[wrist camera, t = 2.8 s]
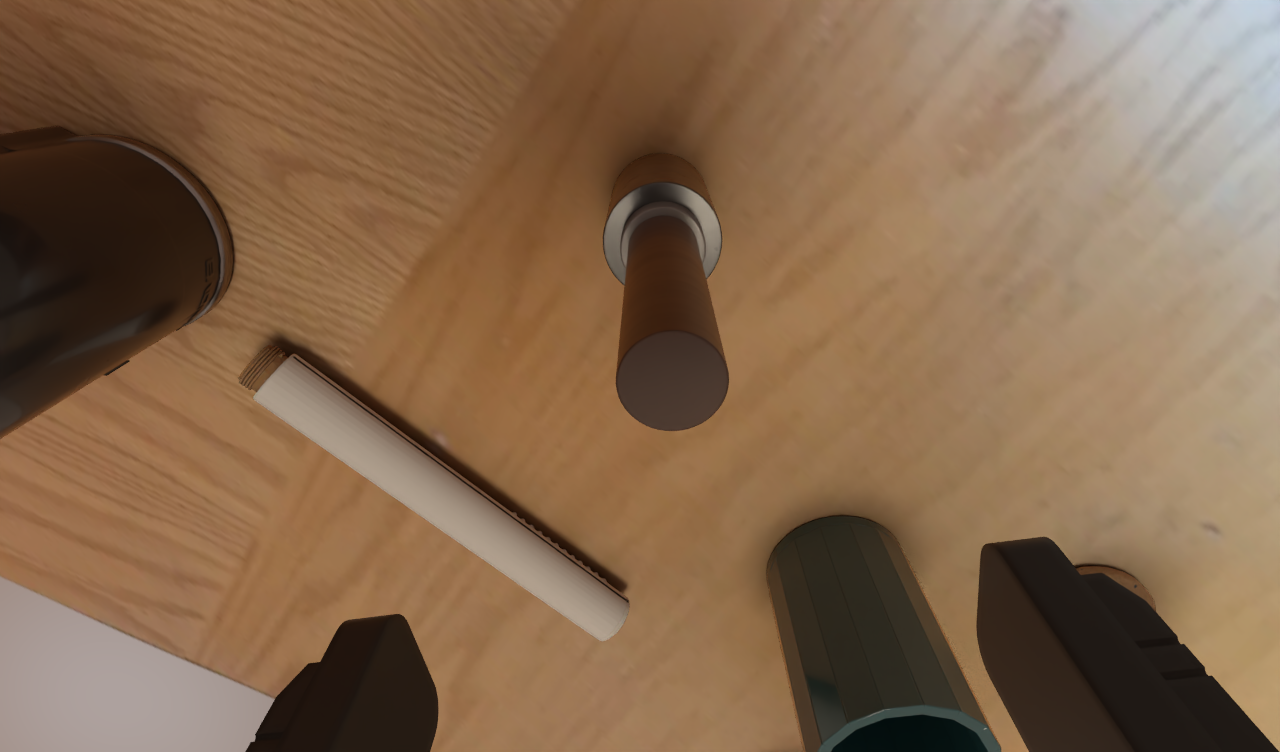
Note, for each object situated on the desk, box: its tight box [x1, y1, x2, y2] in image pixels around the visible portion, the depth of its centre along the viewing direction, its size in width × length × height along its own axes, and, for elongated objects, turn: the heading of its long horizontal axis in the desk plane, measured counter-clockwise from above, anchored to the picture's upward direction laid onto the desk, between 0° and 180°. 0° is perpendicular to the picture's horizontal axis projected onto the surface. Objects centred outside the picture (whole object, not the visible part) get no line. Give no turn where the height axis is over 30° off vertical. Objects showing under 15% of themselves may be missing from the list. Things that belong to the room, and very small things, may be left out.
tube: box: [238, 345, 629, 641], centre depth 39 cm, size 3×3×25 cm
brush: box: [603, 153, 729, 431], centre depth 24 cm, size 5×5×19 cm
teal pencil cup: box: [767, 516, 1001, 752], centre depth 37 cm, size 8×8×13 cm
